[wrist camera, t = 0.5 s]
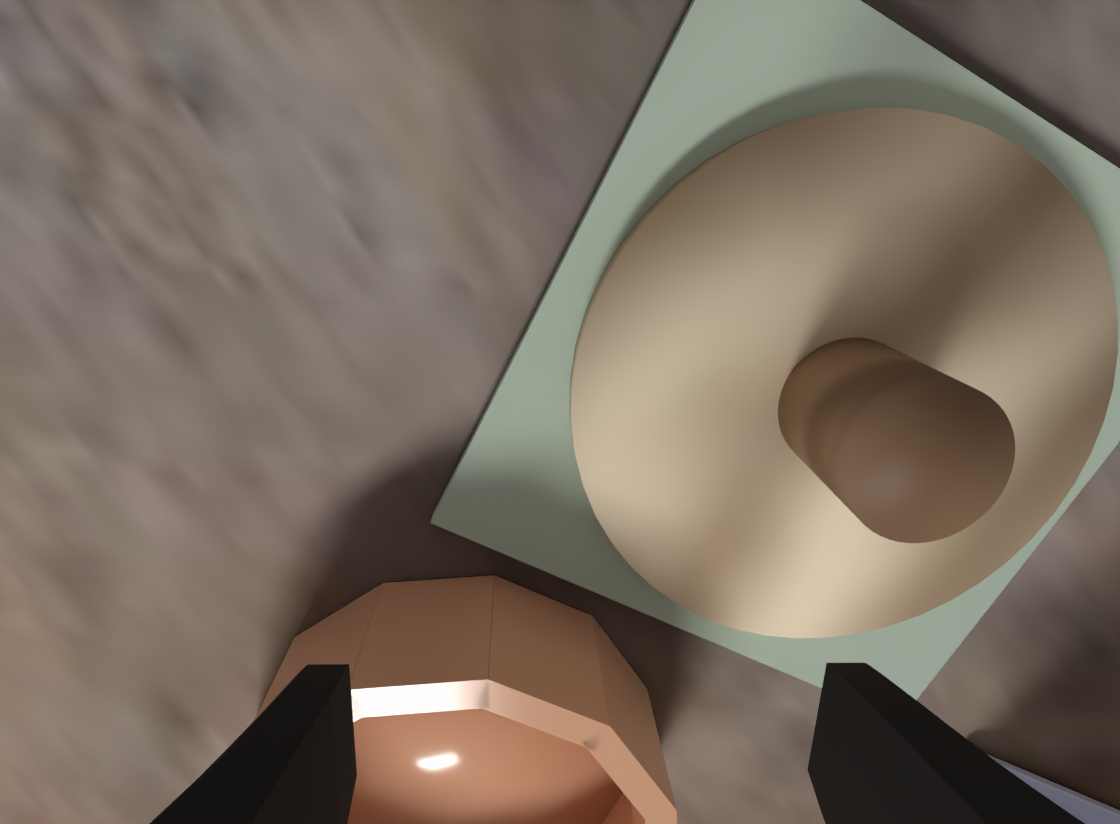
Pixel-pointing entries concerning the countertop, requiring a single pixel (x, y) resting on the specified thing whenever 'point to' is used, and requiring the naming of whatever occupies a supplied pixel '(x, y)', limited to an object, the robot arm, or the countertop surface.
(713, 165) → the lid
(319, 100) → the countertop surface
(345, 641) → the bowl
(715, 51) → the mat
